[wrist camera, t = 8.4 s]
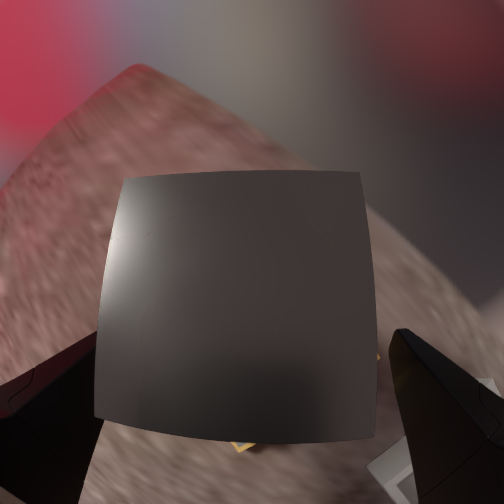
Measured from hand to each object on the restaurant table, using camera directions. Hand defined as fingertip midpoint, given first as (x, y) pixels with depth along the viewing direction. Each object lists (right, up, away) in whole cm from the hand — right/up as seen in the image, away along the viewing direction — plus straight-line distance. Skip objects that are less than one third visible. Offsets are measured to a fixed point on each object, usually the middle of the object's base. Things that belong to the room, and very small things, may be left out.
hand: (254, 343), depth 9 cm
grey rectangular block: (+1, -2, +8) cm, 8 cm away
